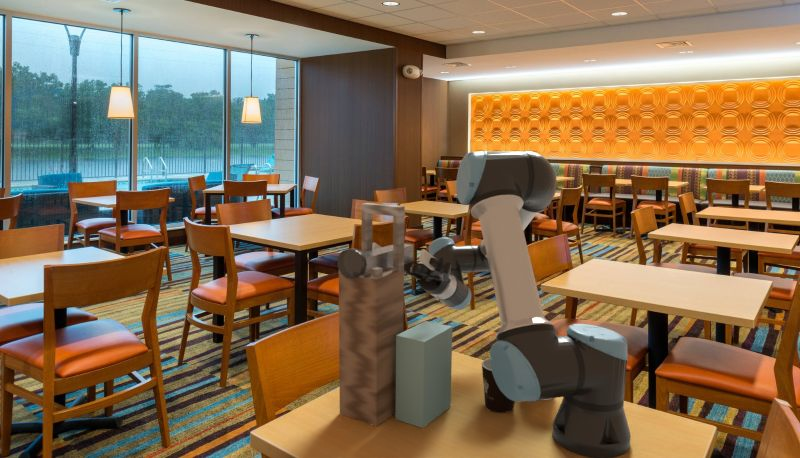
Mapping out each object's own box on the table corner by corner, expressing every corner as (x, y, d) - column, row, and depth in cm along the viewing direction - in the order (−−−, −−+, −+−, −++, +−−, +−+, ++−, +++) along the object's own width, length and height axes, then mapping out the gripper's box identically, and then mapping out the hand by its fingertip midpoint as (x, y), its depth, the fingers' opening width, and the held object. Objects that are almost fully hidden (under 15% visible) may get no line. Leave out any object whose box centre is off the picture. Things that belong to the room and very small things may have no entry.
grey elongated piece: (416, 262, 136) (417, 236, 136) (360, 280, 119) (360, 251, 118) (395, 258, 140) (395, 233, 139) (337, 276, 122) (337, 248, 121)
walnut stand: (402, 408, 134) (404, 206, 126) (376, 426, 125) (377, 211, 118) (366, 397, 139) (367, 202, 132) (339, 413, 131) (338, 207, 123)
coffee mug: (518, 416, 130) (520, 373, 129) (479, 412, 132) (480, 370, 130) (518, 394, 141) (520, 354, 140) (482, 390, 143) (483, 351, 141)
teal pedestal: (450, 406, 135) (452, 326, 132) (422, 428, 125) (424, 342, 122) (424, 398, 139) (425, 320, 135) (395, 418, 129) (396, 335, 126)
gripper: (476, 302, 144) (439, 274, 127) (392, 287, 158) (348, 259, 141) (484, 273, 146) (448, 242, 129) (400, 260, 160) (358, 230, 143)
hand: (396, 251), depth 135 cm, fingers open, 13 cm apart
